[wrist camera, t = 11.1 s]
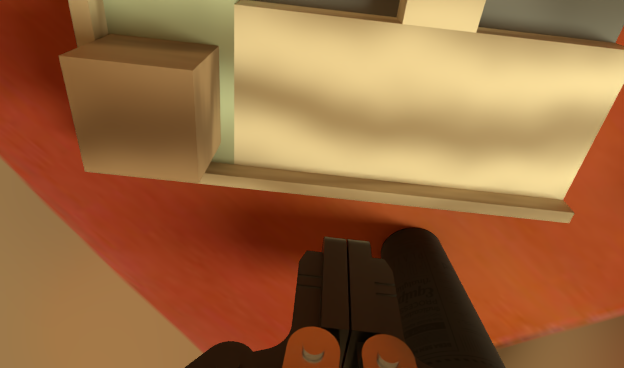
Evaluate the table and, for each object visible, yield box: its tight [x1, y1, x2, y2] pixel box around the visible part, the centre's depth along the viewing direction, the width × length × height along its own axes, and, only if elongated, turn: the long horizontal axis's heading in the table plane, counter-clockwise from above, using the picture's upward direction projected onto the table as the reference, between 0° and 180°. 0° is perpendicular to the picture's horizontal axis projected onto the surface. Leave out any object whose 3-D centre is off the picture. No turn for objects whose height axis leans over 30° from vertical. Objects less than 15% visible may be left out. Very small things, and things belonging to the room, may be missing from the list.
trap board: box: [68, 0, 624, 223], centre depth 22 cm, size 18×30×4 cm, turn 84°
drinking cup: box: [381, 228, 505, 368], centre depth 24 cm, size 8×8×20 cm
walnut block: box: [59, 34, 221, 184], centre depth 22 cm, size 6×6×5 cm
